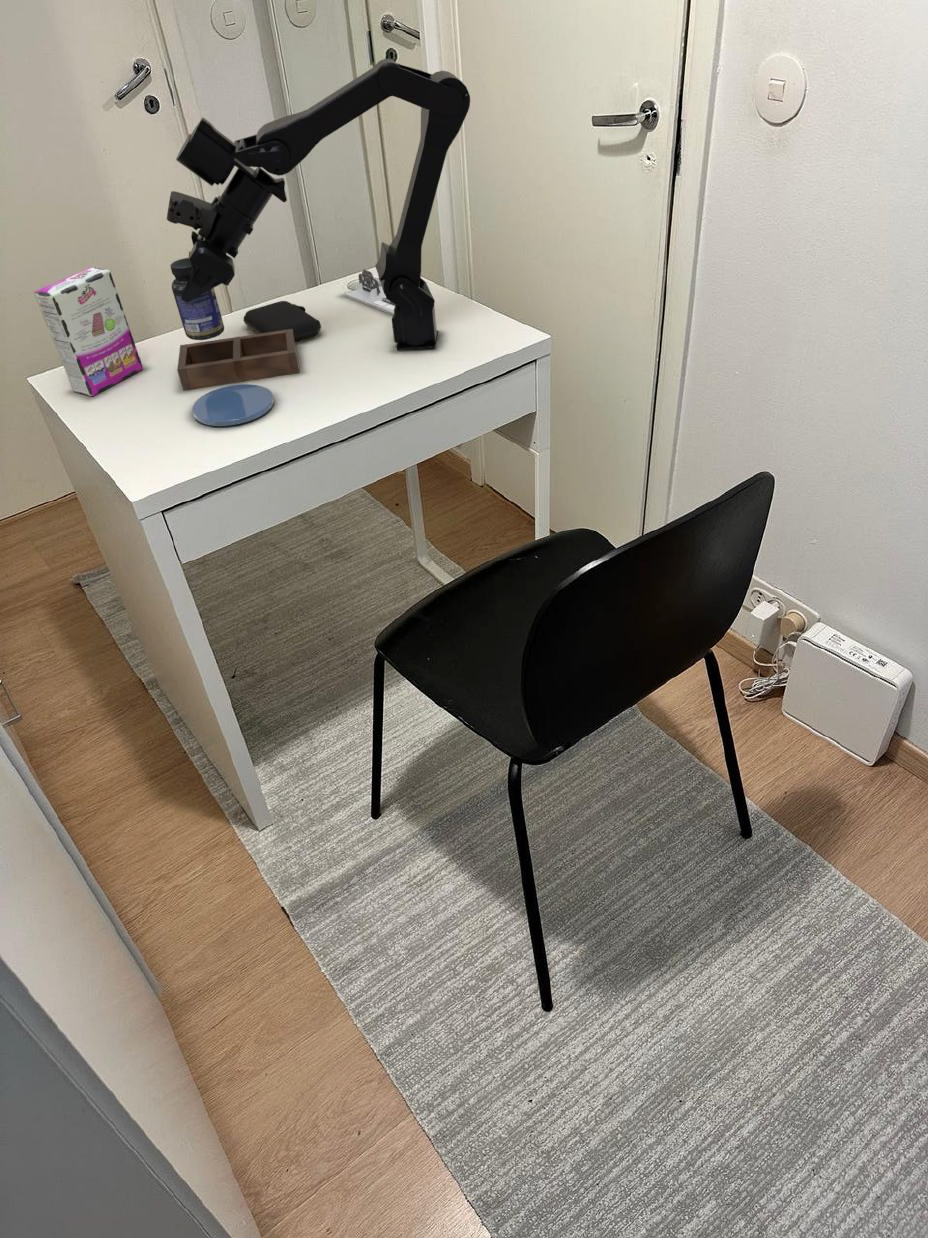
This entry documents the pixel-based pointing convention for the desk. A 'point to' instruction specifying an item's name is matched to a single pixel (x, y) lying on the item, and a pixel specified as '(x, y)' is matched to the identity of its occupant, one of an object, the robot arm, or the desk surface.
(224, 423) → the plate
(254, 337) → the rack
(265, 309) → the carrying case
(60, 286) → the candy bar box
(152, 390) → the desk surface
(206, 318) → the pill bottle
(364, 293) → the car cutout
